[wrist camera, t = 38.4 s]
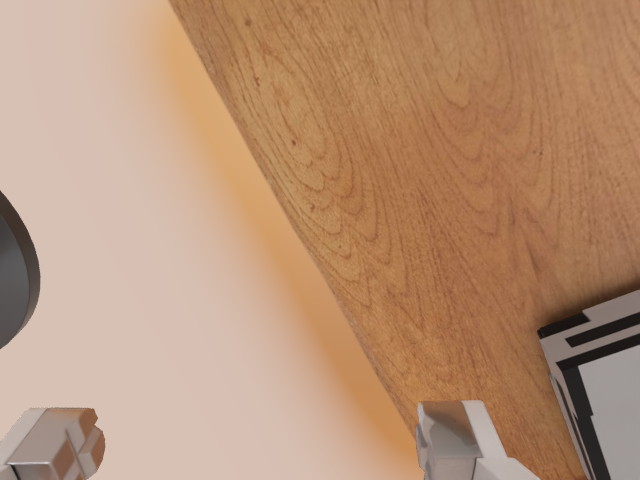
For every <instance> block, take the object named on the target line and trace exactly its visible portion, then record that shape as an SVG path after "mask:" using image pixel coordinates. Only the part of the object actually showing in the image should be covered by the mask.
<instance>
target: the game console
mask: <svg viewBox="0 0 640 480" xmlns="http://www.w3.org/2000/svg"><path fill="white" fill-rule="evenodd" d="M582 312H583V313H580V314H578V315H575V316H572V317H569V318H567V319H564V320H561V321H558V322H556V323H553V324H550V325H547V326H545V327H542V328H540V330H538V331H537V333H538V335H539V338H540V343H541V346H542V349H543V352H544V354H545V357H546V360H547V363H548V365H549V368H550V371H551V374H548V375H549V378H550V380H551V383H552V386H553V389H554V391H555V394H556V397H557V400H558V402H559V405H560V408H561V410H562V413H563V416H564V419H565V421H566V424H567V427H568V430H569V432H570V435H571V438H572V441H573V443H574V446H575V449H576V452H577V454H578V457H579V460H580V463H581V465H582V468H583V471H584V473H585V475H586V477H587V478H588V480H640V289H639V290H637V291H634V292H631V293H629V294H626V295H623V296H620V297H618V298H615V299H612V300H609V301H607V302H604V303H601V304H599V305H596V306H593V307H590V308H588V309H585V310H582Z"/></svg>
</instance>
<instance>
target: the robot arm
mask: <svg viewBox="0 0 640 480" xmlns="http://www.w3.org/2000/svg"><path fill="white" fill-rule="evenodd" d="M417 413H418V418H419V422H420V423H419V424H418V425H417V426H416V449H417V456H418V461H419V466H420V468H421V469H422V470H423V471H424V472H425V473H424V474H425V475H424V480H541V479H539V478H538V477H537V476H536V475H534V474H533V473H532V472H531V471H530V470H528V469H527V468H526V467H525V466H524V465H522V464H521V463H520V462H519V461H518V460H516V459H515V458H508V457H507V455H506V453H505V450H504V448H503V446H502V443H501V441H500V439H499V437H498V434H497V432H496V430H495V427H494V425H493V423H492V421H491V418H490V416H489V414H488V411H487V409H486V407H485V404H484V403H483V402H482V401H481V400H460V401H458V400H457V401H423V402H419V405H418V412H417ZM97 419H98V418H97V415H96V413H95V410H94V409H91V408H30V409H29V410H27V411H25V412H24V413H23V414H22V415H21V417H20V418H19V419H18V420H17V422H16V423H15V424H14V425H13V427H12V428H11V429H10V431H9V432H8V433H7V434H6V436H5V437H4V438H3V439H2V441H1V442H0V480H87V479H88V478H89V477H91V476H92V475H93V474H94V473H96V472H97V470H98V468H99V466H100V464H101V462H102V460H103V455H104V451H105V438H104V435H103V432H102V431H101V430H100V429H99V428H97V427H96V426H95V425H94V424H95V423H96V421H97Z"/></svg>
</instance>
